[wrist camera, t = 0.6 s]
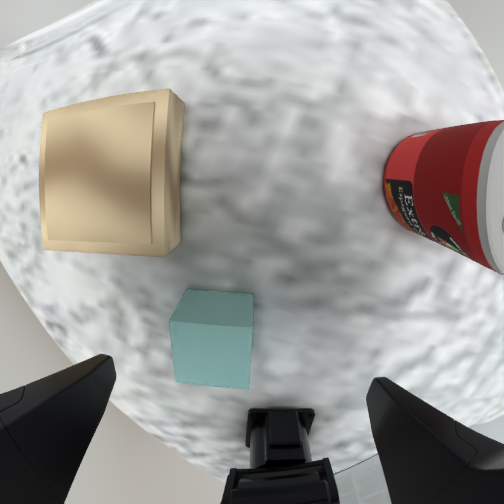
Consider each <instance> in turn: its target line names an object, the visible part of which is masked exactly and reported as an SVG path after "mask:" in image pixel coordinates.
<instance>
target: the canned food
mask: <svg viewBox="0 0 504 504" xmlns="http://www.w3.org/2000/svg"><path fill="white" fill-rule="evenodd" d="M384 191H385V197H386V200H387V203H388V206H389V207H390V209H391V211H392V213H393V214H394V216H395V217H396V218H397V220H398V221H399V222H400V223H401V224H402V225H403V226H404V227H405V228H407V229H408V230H411V231H412V232H415V233H417V234H419V235H421V236H424V237H426V238H428V239H430V240H432V241H434V242H437V243H439V244H441V245H443V246H445V247H447V248H449V249H451V250H453V251H455V252H457V253H459V254H461V255H463V256H465V257H467V258H469V259H471V260H473V261H475V262H477V263H479V264H481V265H483V266H485V267H487V268H489V269H491V270H493V271H495V272H497V273H499V274H501V275H504V120H500V121H487V122H480V123H473V124H466V125H460V126H454V127H448V128H442V129H437V130H431V131H426V132H421V133H416V134H414V135H411V136H409V137H407V138H406V139H404V140H403V141H402V142H401V143H400V144H399V145H398V146H397V147H396V148H395V149H394V150H393V152H392V154H391V155H390V157H389V159H388V162H387V164H386V167H385V173H384Z"/></svg>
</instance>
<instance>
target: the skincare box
mask: <svg viewBox="0 0 504 504" xmlns="http://www.w3.org/2000/svg"><path fill="white" fill-rule="evenodd" d="M334 478H335V481H336V485H337V488H338V493H339V500H340V504H391V500H390V496H389V492H388V488H387V484H386V480H385V477H384V473H383V469H382V466H381V462H380V459H379V455H378V454H377V455H375V456H373V457H371V458H369V459H367V460H365V461H363V462H361V463H359V464H357V465H355V466H353V467H351V468H348V469H346V470H344V471H342V472H339V473H337V474H335V475H334Z"/></svg>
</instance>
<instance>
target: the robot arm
mask: <svg viewBox="0 0 504 504" xmlns="http://www.w3.org/2000/svg"><path fill="white" fill-rule="evenodd" d="M115 381H116V371H115V367H114V362H113V358H112V357H111V356H109V355H105V354H99V355H97V356H94V357H92V358H90V359H87V360H85V361H83V362H80V363H78V364H76V365H73V366H71V367H69V368H66V369H64V370H61V371H59V372H57V373H54V374H52V375H49V376H47V377H44V378H42V379H40V380H37V381H34V382H32V383H30V384H27V385H26V386H22V387H19V388H17V389H14V390H11V391H8V392H5V393H2V394H0V504H64V501H65V500H66V497H67V495H68V492H69V490H70V488H71V485H72V483H73V480H74V478H75V476H76V473H77V471H78V469H79V466H80V464H81V462H82V459H83V457H84V455H85V453H86V450H87V448H88V446H89V444H90V442H91V440H92V437H93V435H94V433H95V431H96V429H97V427H98V425H99V423H100V421H101V418H102V416H103V414H104V412H105V409H106V406H107V403H108V400H109V398H110V395H111V392H112V389H113V386H114V384H115ZM366 402H367V407H368V412H369V418H370V423H371V429H372V434H373V438H374V441H375V445H376V448H377V452H378V455H379V459H380V462H381V466H382V469H383V473H384V477H385V480H386V484H387V488H388V492H389V496H390V500H391V504H504V444H502V443H500V442H498V441H495V440H493V439H491V438H488V437H486V436H484V435H482V434H480V433H478V432H476V431H474V430H472V429H470V428H468V427H466V426H465V425H463V424H461V423H459V422H458V421H456V420H455V421H454V419H453V418H451V417H449V416H448V415H446V414H444V413H443V412H441V411H439V410H438V409H436V408H434V407H433V406H431V405H429V404H428V403H426V402H424V401H423V400H421V399H420V398H418V397H416V396H415V395H413V394H412V393H410V392H408V391H407V390H405V389H404V388H402V387H400V386H399V385H397V384H396V383H394V382H392V381H391V380H389V379H388V378H386V377H376V378H374V379H373V381H372V383H371V386H370V388H369V391H368V393H367V396H366ZM314 416H315V413H314V410H311V409H309V410H258V409H252V410H249V411H248V420H247V432H246V447H249V448H250V468H249V469H237V468H231V469H230V473H229V475H228V477H227V481H226V485H225V489H224V494H223V498H222V501H221V503H220V504H340V500H339V493H338V488H337V485H336V481H335V478H334V474H333V471H332V468H331V464H330V461H329V458H323V459H322V460H317V461H312V459H311V453H310V447H309V441H308V434H309V431H310V428H311V425H312V422H313V419H314Z"/></svg>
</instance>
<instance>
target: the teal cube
mask: <svg viewBox="0 0 504 504" xmlns="http://www.w3.org/2000/svg"><path fill="white" fill-rule="evenodd" d="M169 325H170V336H171V346H172V355H173V364H174V372H175V380H176V382H179V383H187V384H195V385H204V386H214V387H226V388H240V389H249V377H250V363H251V349H252V335H253V294H252V293H235V292H220V291H206V290H193V289H187V290H186V291H185V293H184V295H183V297H182V299H181V300H180V302H179V304H178V306H177V308H176V309H175V311H174V313H173V315H172V317H171V318H170V320H169Z"/></svg>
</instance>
